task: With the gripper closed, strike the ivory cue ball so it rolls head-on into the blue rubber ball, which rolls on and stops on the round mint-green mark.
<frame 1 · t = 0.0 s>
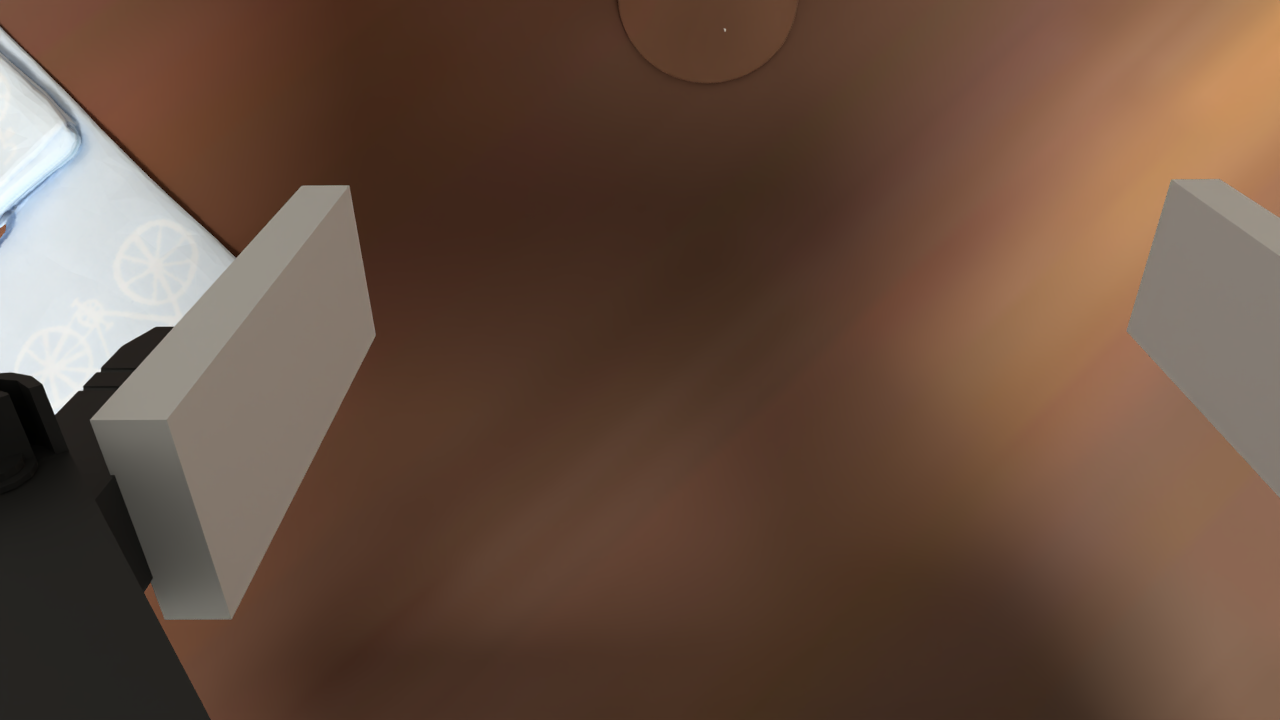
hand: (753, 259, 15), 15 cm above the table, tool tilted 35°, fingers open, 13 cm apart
beer glass: (706, 1, 32), on the table
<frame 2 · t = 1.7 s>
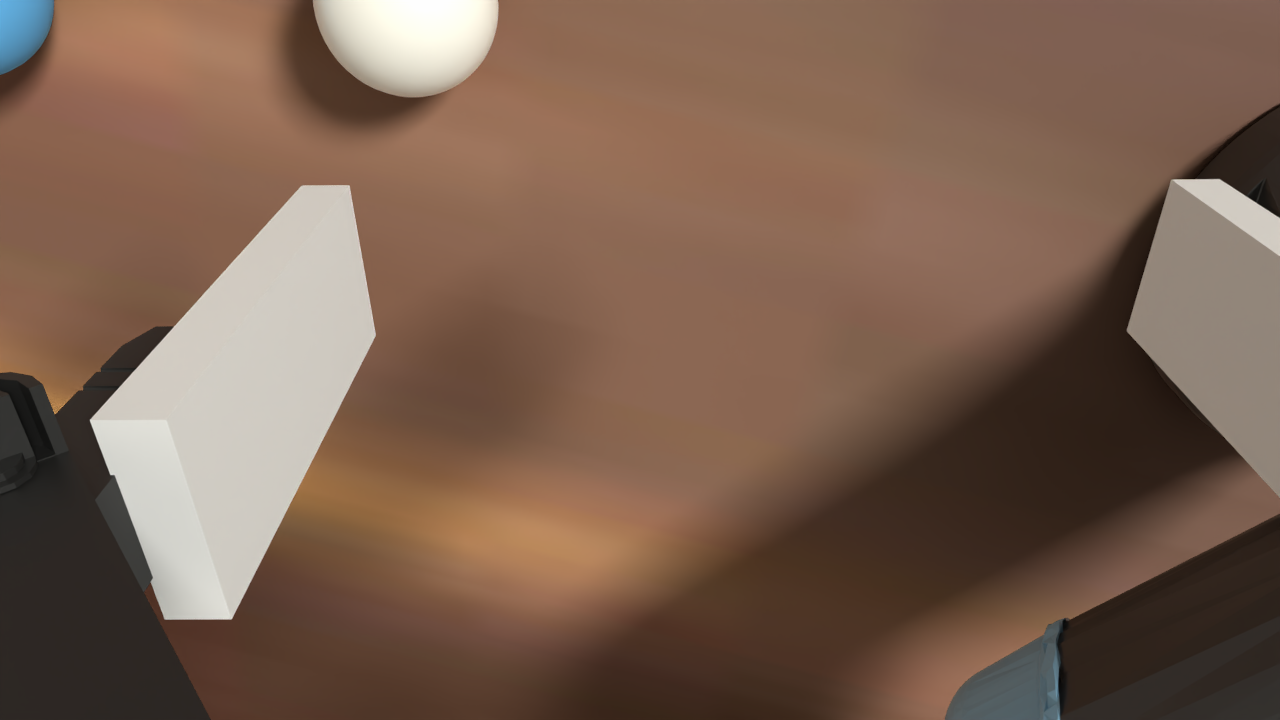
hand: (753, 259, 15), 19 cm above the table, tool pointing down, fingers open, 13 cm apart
white cue ball: (407, 4, 28), on the table
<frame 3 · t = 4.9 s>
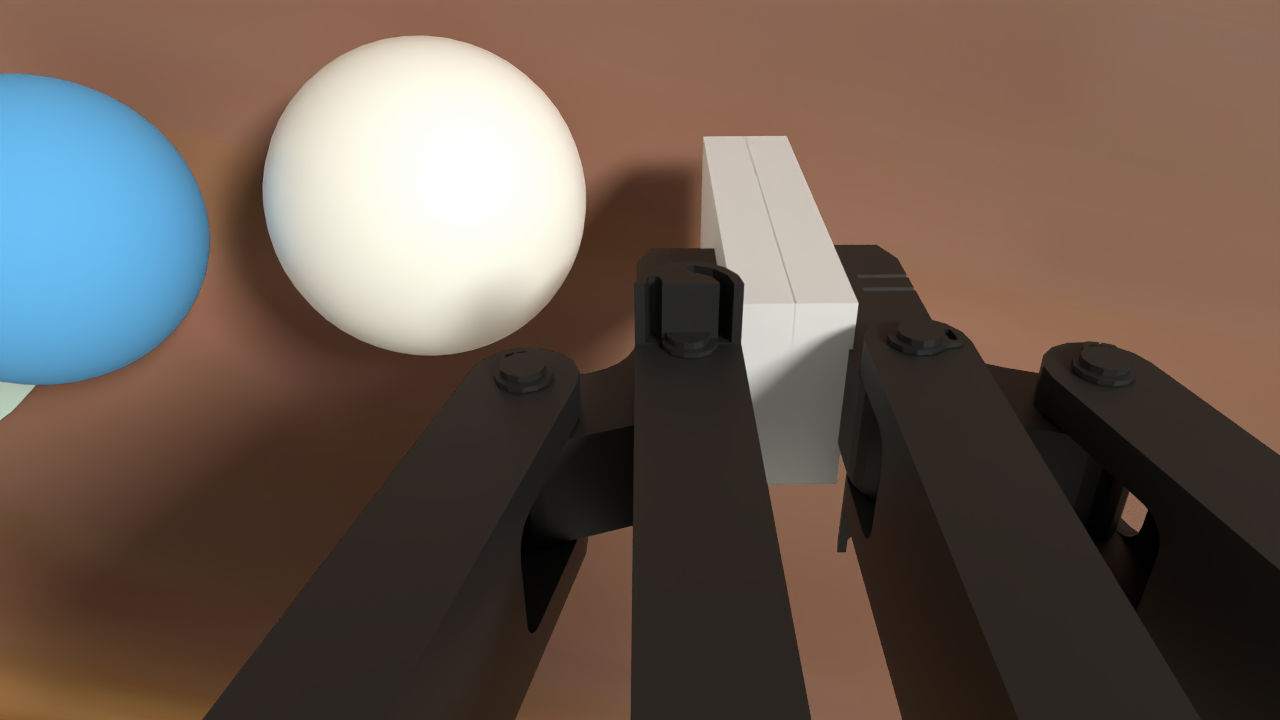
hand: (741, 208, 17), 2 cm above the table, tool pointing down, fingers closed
blue object ball: (42, 232, 17), on the table
white cue ball: (430, 200, 16), on the table
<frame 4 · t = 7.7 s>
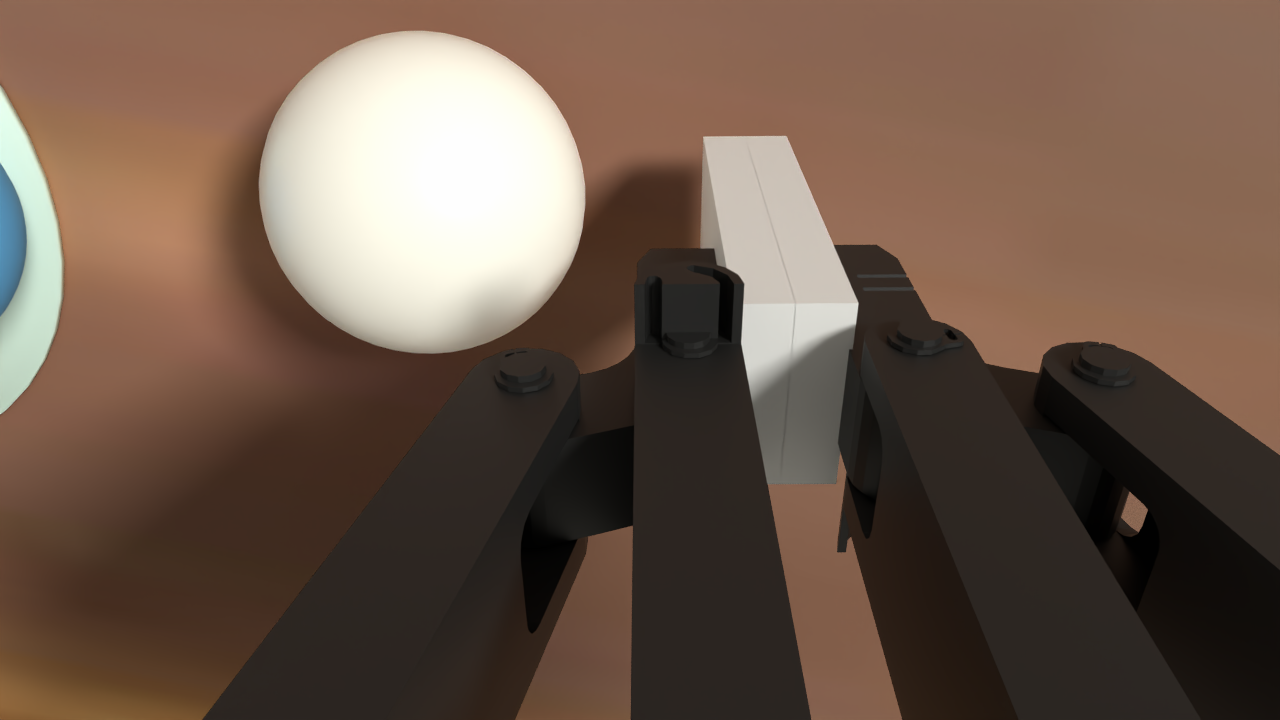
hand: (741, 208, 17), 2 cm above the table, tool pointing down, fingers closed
white cue ball: (428, 197, 16), on the table
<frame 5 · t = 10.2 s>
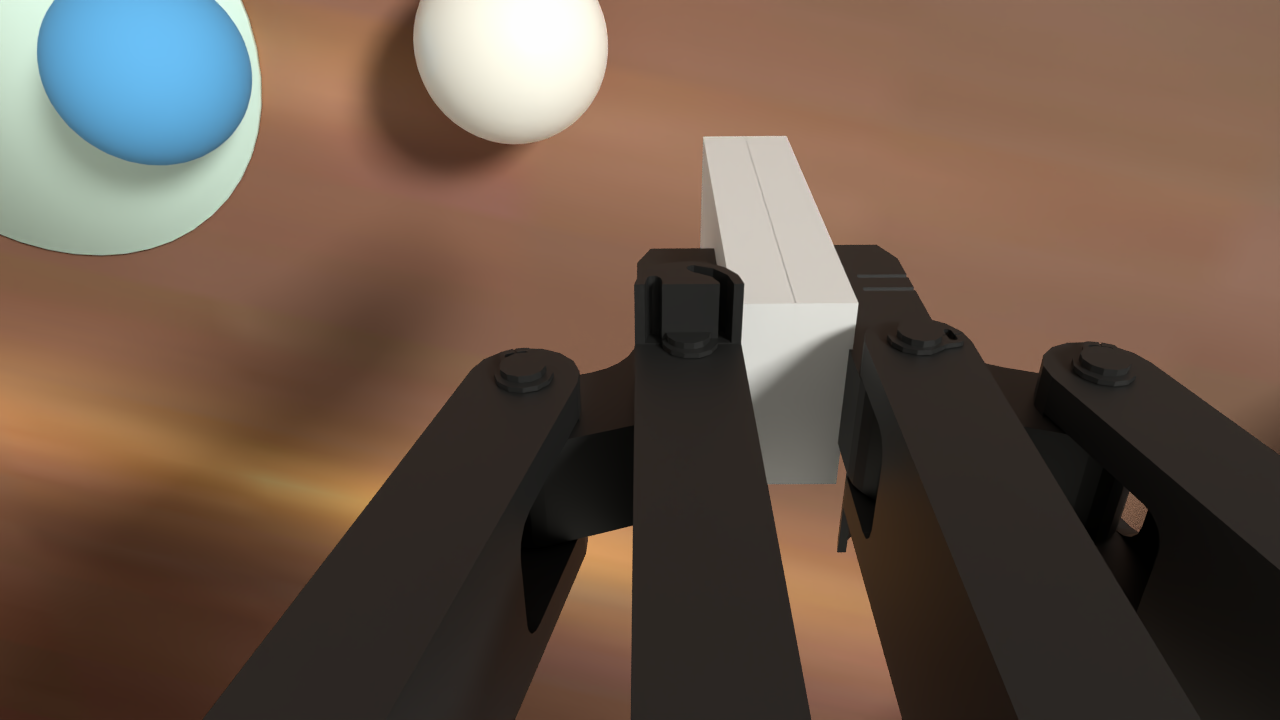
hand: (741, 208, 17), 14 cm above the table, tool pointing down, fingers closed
blue object ball: (149, 68, 27), on the table
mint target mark: (36, 49, 29), on the table
white cue ball: (512, 45, 27), on the table
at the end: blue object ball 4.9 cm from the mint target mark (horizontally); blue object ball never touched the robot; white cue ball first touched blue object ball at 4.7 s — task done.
